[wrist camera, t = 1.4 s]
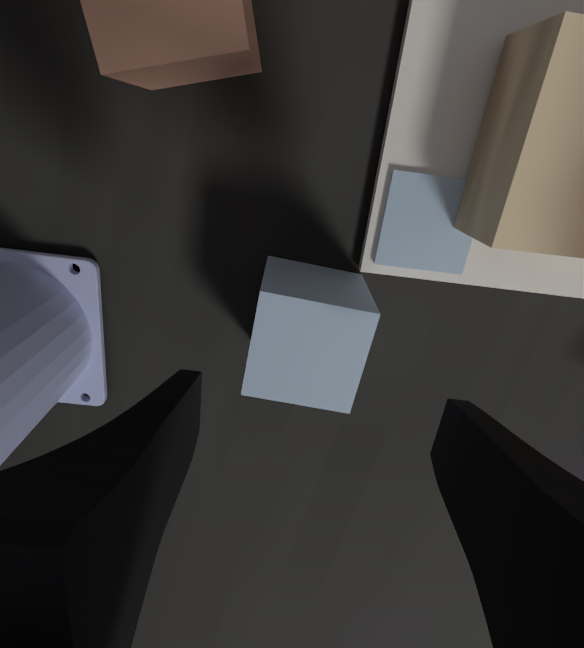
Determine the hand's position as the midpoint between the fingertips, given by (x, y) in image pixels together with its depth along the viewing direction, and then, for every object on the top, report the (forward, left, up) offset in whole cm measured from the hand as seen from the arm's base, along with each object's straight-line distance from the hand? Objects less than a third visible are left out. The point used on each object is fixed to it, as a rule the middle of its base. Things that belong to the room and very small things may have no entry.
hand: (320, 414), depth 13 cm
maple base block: (+9, +8, -8) cm, 15 cm away
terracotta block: (-6, +11, -9) cm, 16 cm away
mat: (+8, +8, -9) cm, 15 cm away
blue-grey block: (0, 0, -9) cm, 9 cm away
